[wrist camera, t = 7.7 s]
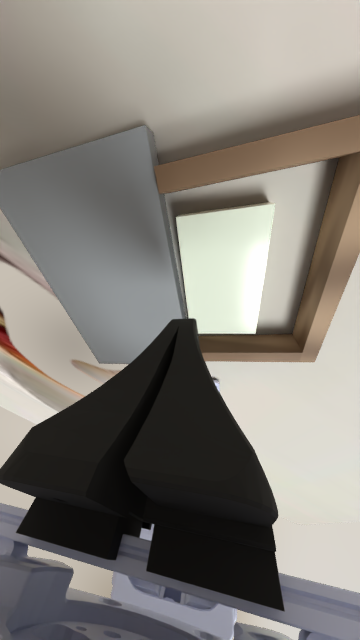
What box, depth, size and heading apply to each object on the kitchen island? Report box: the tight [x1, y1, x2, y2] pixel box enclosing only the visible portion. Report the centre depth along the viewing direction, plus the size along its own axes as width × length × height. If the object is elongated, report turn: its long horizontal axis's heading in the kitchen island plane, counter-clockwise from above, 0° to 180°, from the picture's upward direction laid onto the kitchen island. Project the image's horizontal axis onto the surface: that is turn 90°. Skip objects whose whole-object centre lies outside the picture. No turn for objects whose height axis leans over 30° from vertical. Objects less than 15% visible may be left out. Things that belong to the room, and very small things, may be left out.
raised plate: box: [0, 125, 186, 364], centre depth 16 cm, size 19×12×2 cm, turn 9°
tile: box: [176, 202, 275, 334], centre depth 15 cm, size 10×6×2 cm, turn 7°
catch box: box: [154, 115, 360, 362], centre depth 13 cm, size 15×11×2 cm
